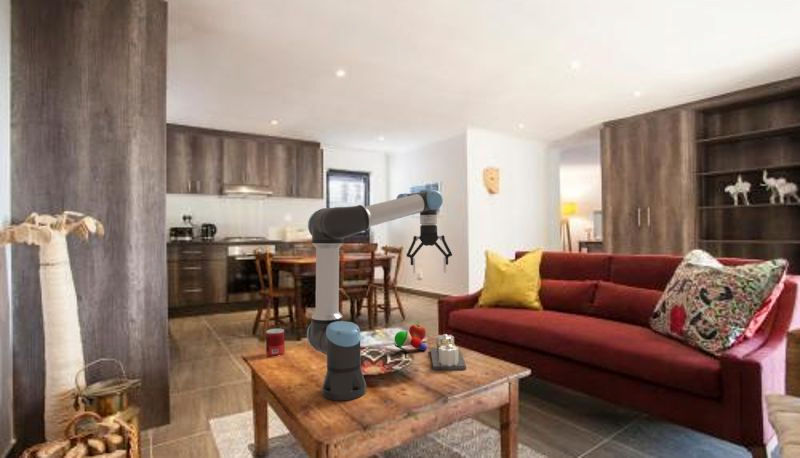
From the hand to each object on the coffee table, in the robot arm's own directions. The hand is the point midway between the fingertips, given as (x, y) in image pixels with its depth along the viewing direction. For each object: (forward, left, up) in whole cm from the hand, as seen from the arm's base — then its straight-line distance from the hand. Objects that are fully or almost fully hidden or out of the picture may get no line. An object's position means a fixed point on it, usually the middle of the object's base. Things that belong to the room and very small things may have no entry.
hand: (429, 272), depth 180 cm
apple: (-6, +22, -37) cm, 43 cm away
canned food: (-71, +3, -37) cm, 80 cm away
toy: (-9, +6, -37) cm, 39 cm away
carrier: (+6, -7, -37) cm, 38 cm away
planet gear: (+7, -15, -35) cm, 39 cm away
